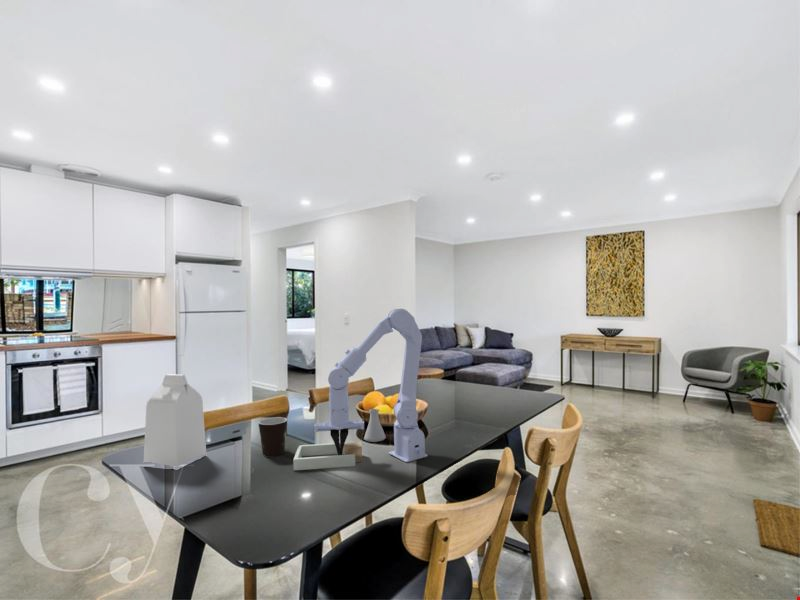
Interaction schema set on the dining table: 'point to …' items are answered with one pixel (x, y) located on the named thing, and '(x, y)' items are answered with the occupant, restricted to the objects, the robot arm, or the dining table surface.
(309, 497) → the dining table surface
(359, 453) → the oak block
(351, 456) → the white tray
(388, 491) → the dining table surface
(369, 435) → the flask
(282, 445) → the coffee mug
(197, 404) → the milk
